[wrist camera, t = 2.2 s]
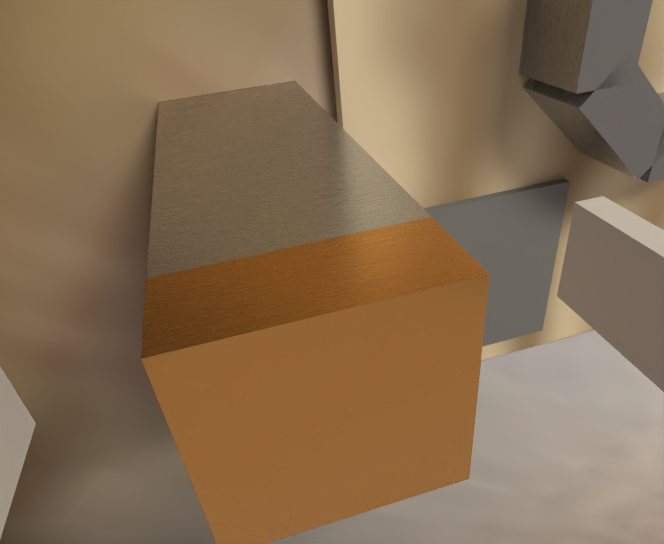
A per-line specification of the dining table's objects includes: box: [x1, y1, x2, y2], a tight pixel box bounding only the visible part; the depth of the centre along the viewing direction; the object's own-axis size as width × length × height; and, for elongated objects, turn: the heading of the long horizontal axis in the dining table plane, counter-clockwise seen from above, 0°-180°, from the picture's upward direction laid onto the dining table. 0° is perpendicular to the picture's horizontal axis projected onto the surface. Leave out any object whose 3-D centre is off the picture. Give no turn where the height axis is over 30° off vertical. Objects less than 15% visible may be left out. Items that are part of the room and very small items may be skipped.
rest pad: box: [424, 178, 570, 347], centre depth 25 cm, size 9×9×1 cm
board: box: [327, 0, 664, 360], centre depth 23 cm, size 22×26×1 cm
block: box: [141, 81, 490, 544], centre depth 14 cm, size 5×5×14 cm
